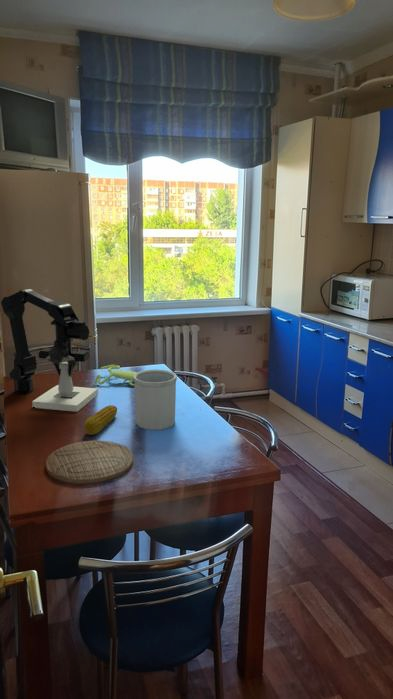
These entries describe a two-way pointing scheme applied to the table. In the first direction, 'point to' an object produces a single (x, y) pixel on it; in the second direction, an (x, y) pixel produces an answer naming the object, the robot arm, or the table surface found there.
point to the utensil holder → (155, 399)
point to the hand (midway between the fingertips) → (65, 376)
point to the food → (100, 420)
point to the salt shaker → (65, 380)
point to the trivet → (89, 462)
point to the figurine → (116, 374)
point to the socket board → (57, 403)
